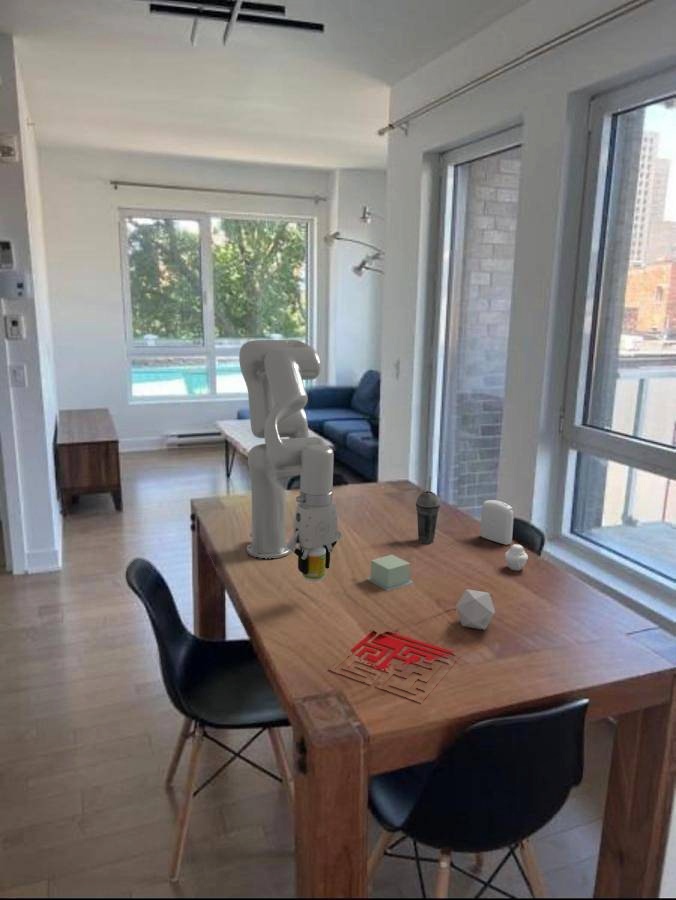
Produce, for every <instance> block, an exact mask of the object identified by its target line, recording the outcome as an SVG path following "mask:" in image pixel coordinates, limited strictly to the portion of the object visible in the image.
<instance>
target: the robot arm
mask: <svg viewBox="0 0 676 900" xmlns="http://www.w3.org/2000/svg"><path fill="white" fill-rule="evenodd" d="M238 361H239V366H240V372H241V375H242V376H243V377H242V378H243V380H244V382H245V385H246V388H247V394H248V395H247V396H248V410H249V420H250V422H249V423H250V428H251V433H252V435H253V436H254V437H255V438H258V439H264V443H260V444H257V445H254V446H252V447H251V449H249V451H248V453H247V464H248V469H249V470H248V471H249V476H250V484H251V485H250V486H251V487H250V488H251V532H250V533H249V537H250V538H251V543H250V544H248V545H247V546H246V554H248V555H249V554H250V555H249V556H251V555H252V556H251V557H253V556H254V557H253V558H256V557H258V559H262V558H265V560H270V559H271V558H274V559H279V558H283V557H285V556H287V555H289V554H290V553H291V551H292V552H293V553H294V554H295V555H296V556H297V568H298V571H299V572H301V573H302V575H303V574H305V575H306V574H308V559H307V558H306V557H307V554H308V551H309V549H311V548H315V547H319V546H324V547H325V549H326V560H325V569H326V570H327V569H330V564H331V553H332V552H333V551H334V550H333V548H334V547H335V546H336V545H337V542H339V540H340V538H341V537H342V533H341V532H340V531H339V526H338V513H337V512H338V511H337V507H336V506H337V505H336V502H335V501H334V500H333V483H334V482H333V481H334V480H333V479H334V460H335V459H334V457H335V456H334V455H335V454H334V450H333V448H332V447H330V446H329V445H327V443H326V441H325V440H324V439H323V438H321V437H317V436H309V424H308V417H307V414H306V411H305V409H304V408H305V406H306V405H307V404H308V400H309V399H308V394H307V391H306V387H305V384H304V381H311V380H316V379H317V378H318V377H319V375H320V372H321V367H322V366H321V359H320V356H319V354H318V353H317V351H316V350H315V349H314V348H313V347H312V346H311V345H309V344H307V343H305V342H303V341H301V340H296V339H256V340H250V341H247V342H245V343H243V344H242V345H241V347H240V350H239V360H238ZM296 475H297V476H299V475H300V476H299V477H300V478H299V479H300V482H299V483H300V484H299V495H298V496H296V497H295V501H296V503H297V506H296V510H295V516H294V520H293V522H294V523H293V535H292V537H291V538H290V540H289V541H288V542H286V491H285V488H284V487H283V485H282V484H281V483H280V482H279V481H278V478H280V477H281V478H282V477H288V476H289V477H290V476H296ZM296 545H298V546H297V547H296ZM268 558H269V559H268ZM271 560H272V559H271Z"/></svg>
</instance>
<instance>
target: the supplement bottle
mask: <svg viewBox="0 0 676 900" xmlns="http://www.w3.org/2000/svg"><path fill="white" fill-rule="evenodd" d="M306 558H307V559H308V574H306V575H305V574H303V573H302V578H303V579H304V580H306V581H311V582H318V581H321V580H323V579H324V578H325V576H326V568H325V560H326V549H325V547H324V546H319V547H315V548H311V549H309V551H308V554H307V557H306Z"/></svg>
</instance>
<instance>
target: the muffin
mask: <svg viewBox="0 0 676 900" xmlns="http://www.w3.org/2000/svg"><path fill="white" fill-rule="evenodd" d="M504 558H505V561H506V564H507V565H508V568H509V569H510V570H512V571H521V570H522V569H523V568H524V566H525V565H526V563H527V562H528V559H529V556H528V553H526V551H525V548H524V546H522V545H521V544H518V543H516V544H512V545H510V548H509V549H508V550H507V551H506V552H505V554H504Z"/></svg>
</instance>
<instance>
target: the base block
mask: <svg viewBox="0 0 676 900" xmlns="http://www.w3.org/2000/svg"><path fill="white" fill-rule="evenodd" d="M370 563H371V564H370V577H371V579H372V580H374V581H376V582H378V583H379V584H381V585H383V586H385V587H387V588H391V587H394V586H397V585H400V584H404V583H407V582H409V580H410V576H411V575H410V574H411V573H410V572H411V563H410V562H408V561H406V560H404V559H402V558H400V557H398V556H395V555H393V554H389V555H385V556H382V557H378V558H374V559H371V560H370Z"/></svg>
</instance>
